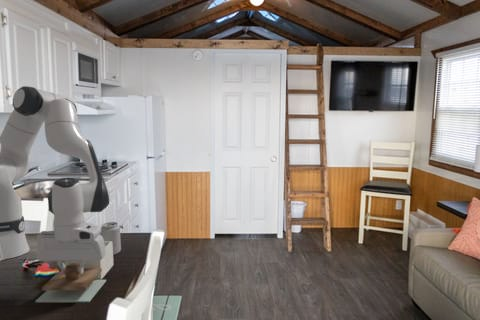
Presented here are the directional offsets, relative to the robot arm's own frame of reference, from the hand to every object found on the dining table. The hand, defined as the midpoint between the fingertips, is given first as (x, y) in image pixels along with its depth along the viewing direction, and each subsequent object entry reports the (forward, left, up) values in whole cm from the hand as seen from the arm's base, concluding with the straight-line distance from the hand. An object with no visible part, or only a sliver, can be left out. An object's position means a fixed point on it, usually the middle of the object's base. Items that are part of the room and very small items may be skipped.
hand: (72, 273), depth 115 cm
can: (+1, +32, -6) cm, 32 cm away
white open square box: (0, +14, -6) cm, 15 cm away
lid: (0, 0, -2) cm, 2 cm away
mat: (0, 0, -6) cm, 6 cm away
